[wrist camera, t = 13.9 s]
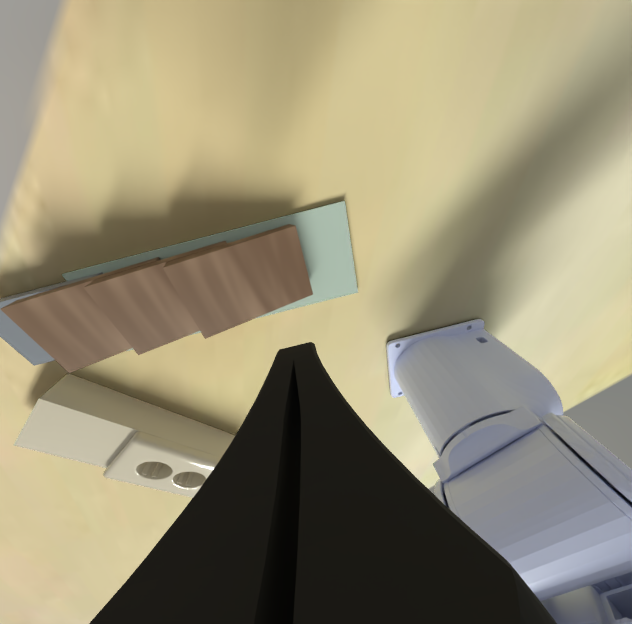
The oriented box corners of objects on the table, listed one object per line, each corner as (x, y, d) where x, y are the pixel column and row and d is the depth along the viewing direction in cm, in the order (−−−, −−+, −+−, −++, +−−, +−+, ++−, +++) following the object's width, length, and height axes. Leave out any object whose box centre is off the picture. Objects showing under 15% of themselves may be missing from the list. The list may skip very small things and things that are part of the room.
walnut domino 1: (155, 260, 15) (-1, 309, 13) (193, 324, 17) (69, 373, 15) (158, 256, 16) (16, 300, 14) (194, 316, 18) (78, 361, 16)
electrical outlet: (26, 408, 17) (239, 472, 24) (71, 369, 20) (245, 436, 28) (1, 456, 19) (203, 502, 26) (46, 413, 23) (213, 464, 30)
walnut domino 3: (295, 225, 15) (162, 267, 13) (313, 294, 17) (204, 338, 15) (288, 224, 16) (166, 262, 14) (306, 288, 18) (204, 329, 16)
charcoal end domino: (87, 279, 15) (-31, 310, 15) (135, 339, 17) (34, 365, 17) (102, 271, 16) (-7, 300, 16) (145, 329, 18) (50, 353, 19)
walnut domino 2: (227, 243, 15) (83, 287, 13) (254, 309, 17) (138, 355, 15) (225, 240, 16) (93, 280, 14) (251, 302, 18) (143, 344, 16)
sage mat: (343, 200, 16) (344, 201, 15) (357, 290, 19) (357, 292, 19) (65, 272, 16) (61, 274, 16) (128, 348, 19) (126, 351, 19)
